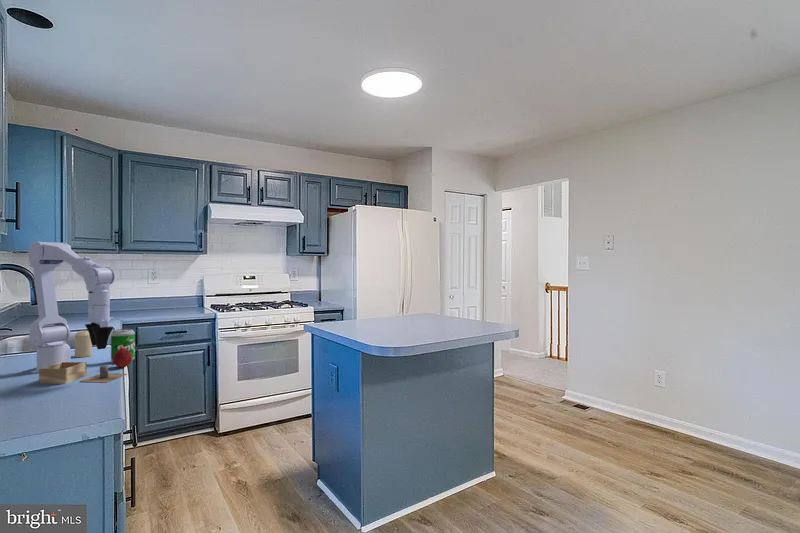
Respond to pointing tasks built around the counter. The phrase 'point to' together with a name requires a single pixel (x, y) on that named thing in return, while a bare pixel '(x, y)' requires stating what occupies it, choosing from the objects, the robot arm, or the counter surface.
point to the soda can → (123, 341)
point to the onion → (122, 357)
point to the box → (62, 372)
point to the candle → (83, 344)
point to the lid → (103, 376)
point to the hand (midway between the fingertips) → (98, 346)
